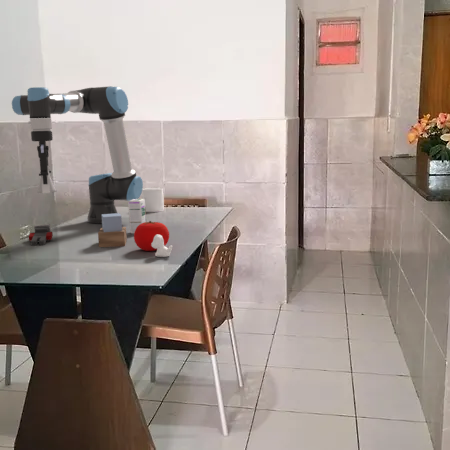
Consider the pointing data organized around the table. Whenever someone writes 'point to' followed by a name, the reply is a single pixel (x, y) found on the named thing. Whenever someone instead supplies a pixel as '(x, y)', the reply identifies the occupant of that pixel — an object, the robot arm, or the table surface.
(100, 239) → the base block
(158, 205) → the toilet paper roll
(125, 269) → the table surface
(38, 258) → the table surface
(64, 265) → the table surface
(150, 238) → the tomato
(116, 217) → the blue brick
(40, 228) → the toy
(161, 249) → the figurine
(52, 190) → the flask
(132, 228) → the syrup box
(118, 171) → the robot arm
